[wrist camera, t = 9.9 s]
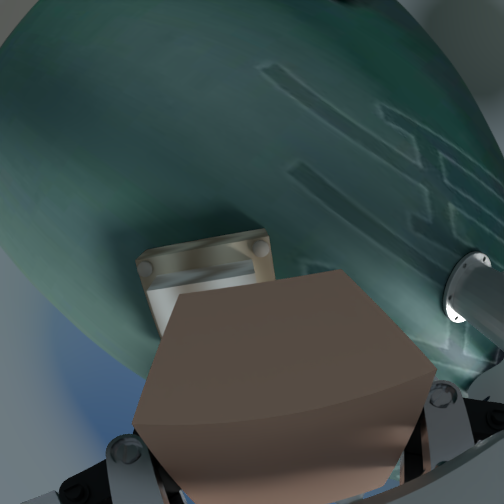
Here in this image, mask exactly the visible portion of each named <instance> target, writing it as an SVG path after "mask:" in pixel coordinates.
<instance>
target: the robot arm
mask: <svg viewBox="0 0 504 504" xmlns="http://www.w3.org/2000/svg"><path fill="white" fill-rule="evenodd" d="M443 309H444V312H445V315H446V316H447V317H448V318H449V319H450V320H451V321H453V322H463V321H465V320H466V321H467V322H469V323H470V324H471V325H473V326H474V327H475V328H476V329H478V330H479V331H480V332H481V333H482V334H484V335H485V336H486V337H487V338H489V339H490V340H491V341H492V342H493V343H495V344H496V345H497V346H498V347H499V348H500V349H502V350H503V351H504V272H499V271H497V270H495V269H493V268H491V263H490V261H489V258H488V257H487V256H486V255H485V254H483V253H481V252H478V251H474V252H471V253H469V254H467V255H465V256H464V257H463V258H462V259H461V260H460V261H459V262H458V264H457V265H456V266H455V268H454V269H453V271H452V273H451V275H450V277H449V279H448V281H447V284H446V287H445V291H444V296H443ZM21 504H187V502H186V499H185V497H184V495H183V492H182V489H181V488H180V487H179V485H178V484H177V483H176V482H175V481H174V480H173V478H172V477H171V476H170V475H169V474H168V473H167V471H166V470H165V469H164V468H163V466H162V465H161V464H160V463H159V461H158V460H157V459H156V457H155V456H154V455H153V453H152V452H151V451H150V449H149V448H148V447H147V445H146V444H145V443H144V441H143V440H142V438H141V437H140V435H139V434H138V432H137V431H136V430H135V428H134V431H133V434H123V435H120V436H117V437H116V438H114V439H113V440H112V441H111V442H110V443H109V444H108V446H107V448H106V459H105V460H103V461H101V462H100V463H98V464H96V465H94V466H92V467H90V468H88V469H87V470H84V471H82V472H80V473H78V474H76V475H74V476H72V477H70V478H68V479H67V480H65V481H64V482H63V483H62V485H61V487H60V489H59V492H56V491H51V492H49V493H46V494H44V495H41V496H39V497H36V498H34V499H31V500H28V501H25V502H23V503H21ZM350 504H504V404H502V403H496V402H488V401H481V400H474V399H468V398H463V397H462V394H461V391H460V389H459V388H458V387H457V386H456V385H455V384H454V383H452V382H449V381H445V380H438V381H434V382H433V383H432V386H431V388H430V391H429V394H428V397H427V399H426V402H425V404H424V407H423V409H422V412H421V414H420V416H419V419H418V421H417V423H416V426H415V428H414V430H413V432H412V434H411V436H410V439H409V441H408V443H407V445H406V447H405V449H404V451H403V452H402V454H401V456H400V486H398V487H395V488H393V489H390V490H388V491H385V492H383V493H380V494H377V495H375V496H372V497H369V498H366V499H363V500H360V501H357V502H353V503H350Z"/></svg>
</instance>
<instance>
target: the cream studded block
mask: <svg viewBox="0 0 504 504" xmlns="http://www.w3.org/2000/svg"><path fill="white" fill-rule="evenodd" d="M135 262H136V266H137V271H138V273H139V276H140V279H141V283H142V286H143V289H144V292H145V295H146V298H147V302H148V305H149V308H150V311H151V313H152V316H153V319H154V322H155V325H156V328H157V330H158V333H159V336H160V338H161V339H162V336H163V334H164V331H165V329H166V326H167V323H168V321H169V318H170V316H171V313H172V311H173V308H174V306H175V303H176V301H177V298H178V296H179V294H183V293H191V292H198V291H206V290H213V289H220V288H227V287H234V286H241V285H248V284H254V283H261V282H267V281H274V280H275V274H274V267H273V260H272V253H271V247H270V240H269V235H268V234H267V232H266V230H265V228H263V229H257V230H251V231H245V232H239V233H234V234H228V235H223V236H217V237H211V238H206V239H200V240H195V241H190V242H184V243H179V244H174V245H168V246H163V247H158V248H153V249H148V250H145V251H144V252H143V253H142V254H141V255H140V256H139V257H138V258H137V259H136V260H135Z"/></svg>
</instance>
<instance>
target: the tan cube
mask: <svg viewBox="0 0 504 504" xmlns="http://www.w3.org/2000/svg"><path fill="white" fill-rule="evenodd" d="M436 371H437V368H436V367H435V366H434V365H433V364H432V363H431V362H430V360H429V359H428V358H427V357H426V356H425V355H424V354H423V353H422V352H421V350H420V349H419V348H418V347H417V346H416V345H415V344H414V343H413V342H412V341H411V340H410V339H409V337H408V336H407V335H406V334H405V333H404V332H403V331H402V330H401V329H400V328H399V327H398V326H397V325H396V324H395V323H394V322H393V321H392V320H391V318H390V317H389V316H388V315H387V314H386V313H385V312H384V311H383V310H382V309H381V308H380V307H379V306H378V305H377V304H376V303H375V302H374V301H373V300H372V299H371V298H370V297H369V296H368V295H367V294H366V293H365V292H364V291H363V290H362V289H361V288H360V287H359V286H358V285H357V284H356V283H355V282H354V281H353V280H352V279H351V278H350V277H349V276H348V275H347V274H346V273H345V272H344V271H343V270H342V269H339V270H333V271H328V272H322V273H316V274H310V275H304V276H298V277H292V278H286V279H280V280H274V281H267V282H261V283H254V284H248V285H241V286H234V287H227V288H220V289H213V290H206V291H198V292H191V293H183V294H179V296H178V298H177V301H176V303H175V306H174V308H173V311H172V313H171V316H170V318H169V321H168V323H167V326H166V329H165V331H164V334H163V336H162V339H161V342H160V344H159V347H158V350H157V352H156V355H155V358H154V360H153V363H152V366H151V369H150V371H149V374H148V377H147V380H146V383H145V386H144V388H143V391H142V394H141V397H140V400H139V403H138V406H137V409H136V412H135V415H134V418H133V421H132V425H133V427H134V428H135V430H136V431H137V432H138V434H139V435H140V437H141V438H142V440H143V441H144V443H145V444H146V445H147V447H148V448H149V449H150V451H151V452H152V453H153V455H154V456H155V457H156V459H157V460H158V461H159V463H160V464H161V465H162V466H163V468H164V469H165V470H166V471H167V473H168V474H169V475H170V476H171V477H172V478H173V480H174V481H175V482H176V483H177V484H178V485H179V487H180V488H181V489H182V490H183V491H184V492H185V493H186V494H187V495H188V496H189V498H190V499H191V500H192V501H193V502H194V503H195V504H328V503H332V502H336V501H339V500H343V499H346V498H350V497H353V496H356V495H359V494H362V493H365V492H368V491H371V490H374V489H377V488H379V487H382V486H384V484H385V482H386V481H387V479H388V478H389V476H390V474H391V472H392V471H393V469H394V467H395V465H396V464H397V462H398V460H399V458H400V456H401V454H402V452H403V451H404V449H405V447H406V445H407V443H408V441H409V439H410V436H411V434H412V432H413V430H414V428H415V426H416V423H417V421H418V419H419V416H420V414H421V412H422V409H423V407H424V404H425V402H426V399H427V397H428V394H429V391H430V388H431V386H432V383H433V380H434V377H435V374H436Z"/></svg>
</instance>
